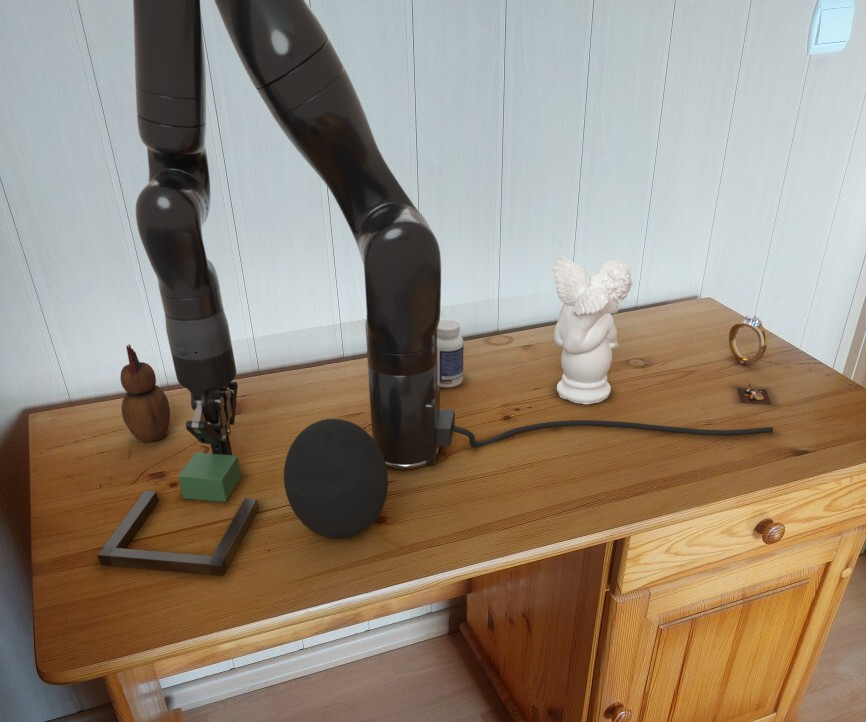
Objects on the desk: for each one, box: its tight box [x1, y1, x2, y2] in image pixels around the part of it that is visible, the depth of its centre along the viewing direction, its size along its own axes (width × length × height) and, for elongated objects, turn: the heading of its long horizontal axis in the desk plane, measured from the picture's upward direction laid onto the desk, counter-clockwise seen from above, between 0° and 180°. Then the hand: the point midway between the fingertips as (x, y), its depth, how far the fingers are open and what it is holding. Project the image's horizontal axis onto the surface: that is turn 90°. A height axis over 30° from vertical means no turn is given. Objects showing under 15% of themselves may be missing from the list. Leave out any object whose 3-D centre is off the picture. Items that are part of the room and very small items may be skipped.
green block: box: [177, 452, 242, 503], centre depth 109 cm, size 6×6×4 cm
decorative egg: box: [283, 418, 389, 540], centre depth 98 cm, size 12×12×15 cm
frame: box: [97, 490, 259, 577], centre depth 101 cm, size 15×14×2 cm
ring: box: [728, 315, 769, 365], centre depth 136 cm, size 7×3×8 cm, turn 26°
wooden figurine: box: [119, 343, 171, 443], centre depth 116 cm, size 7×6×15 cm
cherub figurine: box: [552, 254, 633, 405], centre depth 122 cm, size 12×12×22 cm
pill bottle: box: [437, 319, 465, 389], centre depth 131 cm, size 5×5×10 cm
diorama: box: [736, 382, 772, 405], centre depth 129 cm, size 3×4×2 cm
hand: (224, 460), depth 113 cm, fingers closed
